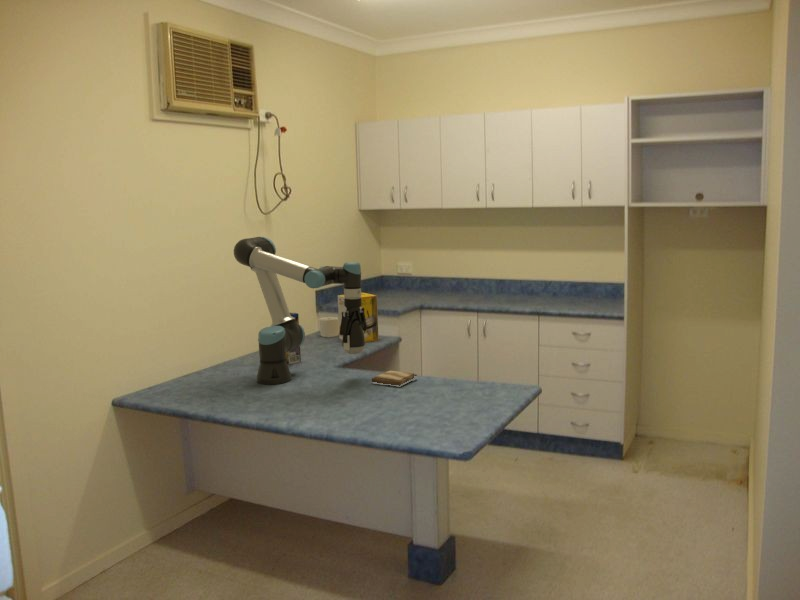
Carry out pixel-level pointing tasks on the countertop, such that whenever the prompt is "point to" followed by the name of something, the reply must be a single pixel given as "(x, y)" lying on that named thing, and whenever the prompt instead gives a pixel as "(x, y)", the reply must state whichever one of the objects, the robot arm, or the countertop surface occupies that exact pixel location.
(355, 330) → the pump dispenser
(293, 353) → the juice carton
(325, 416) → the countertop surface
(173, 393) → the countertop surface
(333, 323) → the toilet tissue
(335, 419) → the countertop surface
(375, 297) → the packaging box
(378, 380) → the stand
